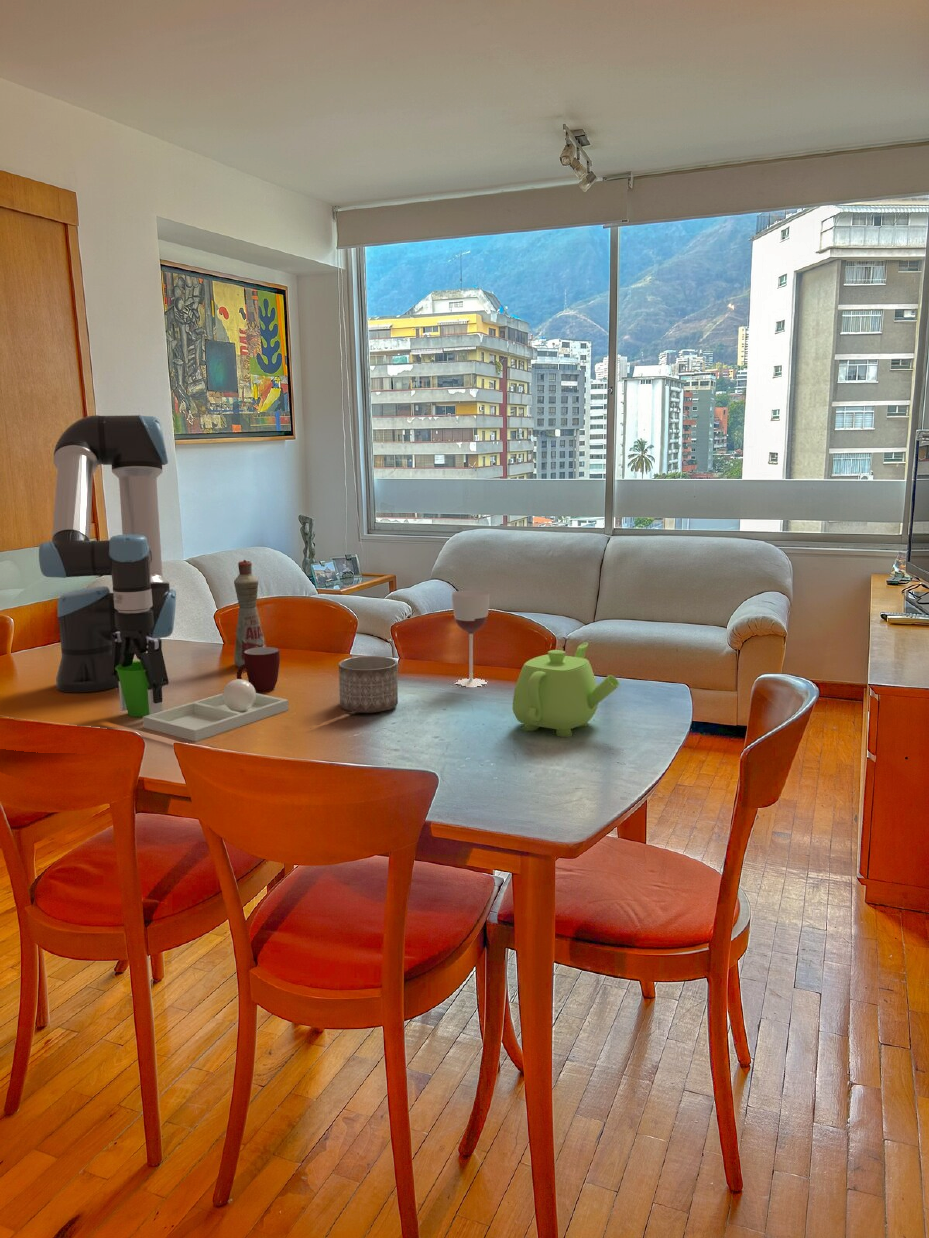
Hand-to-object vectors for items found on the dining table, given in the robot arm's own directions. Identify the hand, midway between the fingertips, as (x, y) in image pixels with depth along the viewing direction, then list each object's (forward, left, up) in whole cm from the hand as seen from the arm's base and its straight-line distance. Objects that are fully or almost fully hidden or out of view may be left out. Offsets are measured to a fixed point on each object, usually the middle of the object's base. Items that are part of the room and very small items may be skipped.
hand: (141, 713), depth 192 cm
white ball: (+16, +13, 0) cm, 21 cm away
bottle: (-15, +45, -1) cm, 47 cm away
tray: (+16, +7, -1) cm, 18 cm away
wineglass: (+43, +62, -1) cm, 75 cm away
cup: (0, 0, -1) cm, 1 cm away
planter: (+36, +32, -1) cm, 48 cm away
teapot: (+79, +45, -1) cm, 91 cm away
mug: (+7, +27, -1) cm, 28 cm away
